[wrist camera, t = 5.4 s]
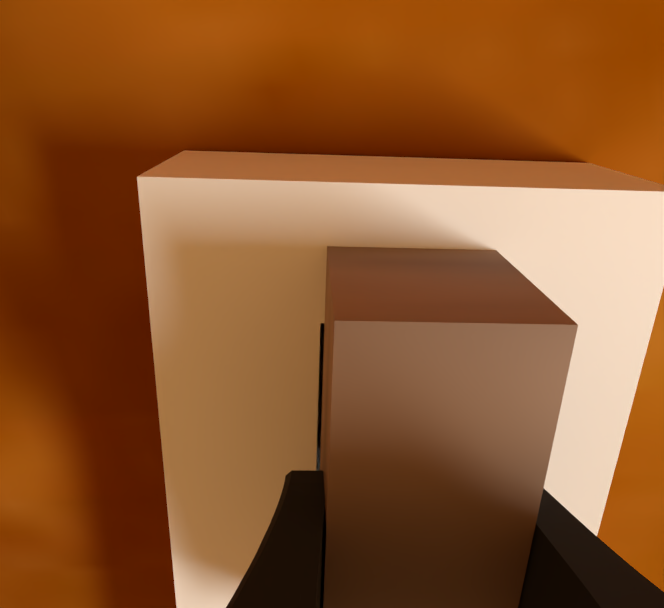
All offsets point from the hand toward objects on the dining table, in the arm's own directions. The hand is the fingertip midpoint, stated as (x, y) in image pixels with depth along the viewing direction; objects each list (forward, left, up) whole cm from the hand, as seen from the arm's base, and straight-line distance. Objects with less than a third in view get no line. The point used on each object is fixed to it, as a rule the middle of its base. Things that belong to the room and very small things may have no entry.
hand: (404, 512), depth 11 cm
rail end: (0, 0, -5) cm, 5 cm away
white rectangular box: (-3, 0, -6) cm, 6 cm away
